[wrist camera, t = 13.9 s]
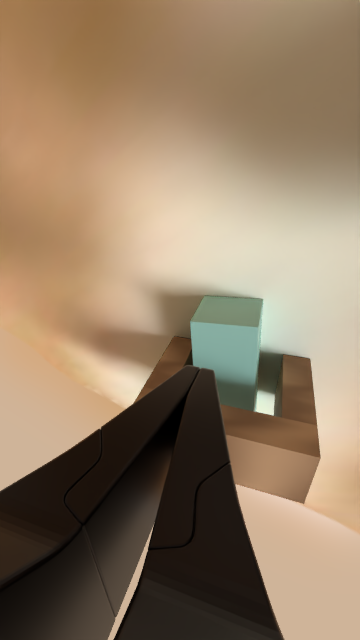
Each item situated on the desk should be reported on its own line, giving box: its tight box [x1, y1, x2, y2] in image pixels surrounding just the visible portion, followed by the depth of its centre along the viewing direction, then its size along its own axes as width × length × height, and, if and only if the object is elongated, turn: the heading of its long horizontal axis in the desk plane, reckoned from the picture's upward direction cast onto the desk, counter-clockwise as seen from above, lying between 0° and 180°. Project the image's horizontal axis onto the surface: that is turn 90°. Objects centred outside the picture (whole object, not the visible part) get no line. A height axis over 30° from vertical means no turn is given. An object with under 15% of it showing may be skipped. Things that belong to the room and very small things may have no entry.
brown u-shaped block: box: [133, 336, 320, 504], centre depth 20 cm, size 10×4×8 cm, turn 91°
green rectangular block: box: [190, 296, 263, 412], centre depth 22 cm, size 4×12×4 cm, turn 5°
